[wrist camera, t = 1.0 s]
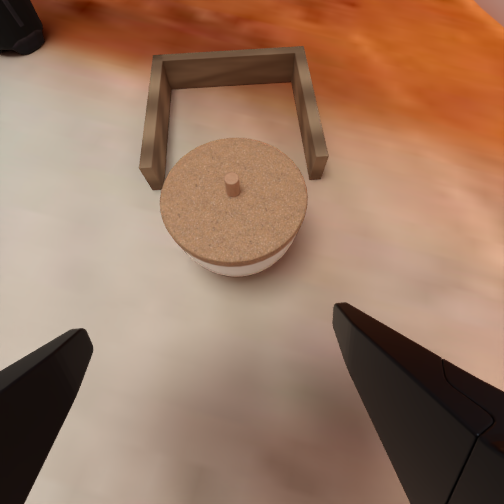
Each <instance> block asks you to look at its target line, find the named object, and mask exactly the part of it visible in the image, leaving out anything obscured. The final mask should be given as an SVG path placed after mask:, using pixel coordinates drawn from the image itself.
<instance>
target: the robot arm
mask: <svg viewBox="0 0 504 504" xmlns="http://www.w3.org/2000/svg"><path fill="white" fill-rule="evenodd" d="M333 328H334V331H335V334H336V337H337V340H338V343H339V346H340V349H341V352H342V355H343V358H344V361H345V364H346V366H347V369H348V371H349V373H350V376H351V378H352V380H353V382H354V384H355V386H356V388H357V391H358V393H359V395H360V397H361V399H362V401H363V403H364V406H365V408H366V410H367V412H368V414H369V416H370V418H371V420H372V423H373V425H374V427H375V429H376V431H377V433H378V435H379V437H380V440H381V442H382V444H383V446H384V448H385V450H386V452H387V455H388V457H389V459H390V461H391V463H392V465H393V467H394V469H395V472H396V474H397V476H398V478H399V480H400V482H401V484H402V487H403V489H404V491H405V493H406V495H407V497H408V499H409V501H410V504H504V392H503V391H502V390H500V389H498V388H496V387H494V386H492V385H490V384H488V383H486V382H484V381H482V380H480V379H479V378H477V377H475V376H473V375H471V374H470V373H468V372H466V371H464V370H462V369H461V368H459V367H457V366H455V365H454V364H452V363H450V362H448V361H447V360H445V359H442V358H441V357H440V356H438V355H436V354H434V353H433V352H431V351H429V350H428V349H426V348H424V347H422V346H421V345H419V344H417V343H415V342H414V341H412V340H410V339H409V338H407V337H405V336H403V335H402V334H400V333H398V332H396V331H395V330H393V329H391V328H390V327H388V326H386V325H384V324H383V323H381V322H379V321H377V320H376V319H374V318H372V317H371V316H369V315H367V314H365V313H364V312H362V311H360V310H359V309H357V308H355V307H353V306H352V305H350V304H348V303H346V302H343V303H336V304H334V308H333ZM92 353H93V345H92V342H91V340H90V338H89V336H88V333H87V331H86V330H85V329H83V328H79V329H71V330H69V331H67V332H66V333H64V334H62V335H60V336H59V337H57V338H55V339H54V340H52V341H50V342H49V343H47V344H45V345H44V346H42V347H40V348H39V349H37V350H35V351H34V352H32V353H30V354H28V355H27V356H25V357H23V358H22V359H20V360H18V361H17V362H15V363H13V364H12V365H10V366H8V367H7V368H5V369H3V370H1V371H0V504H24V503H25V501H26V499H27V497H28V495H29V493H30V491H31V489H32V487H33V485H34V482H35V480H36V478H37V476H38V474H39V472H40V470H41V468H42V466H43V464H44V462H45V460H46V458H47V456H48V454H49V452H50V450H51V448H52V445H53V443H54V441H55V439H56V437H57V435H58V433H59V431H60V429H61V427H62V425H63V423H64V421H65V419H66V417H67V415H68V413H69V411H70V408H71V406H72V404H73V402H74V400H75V398H76V396H77V393H78V391H79V388H80V386H81V383H82V380H83V378H84V375H85V372H86V370H87V367H88V364H89V362H90V359H91V356H92Z"/></svg>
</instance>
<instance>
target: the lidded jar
mask: <svg viewBox="0 0 504 504" xmlns="http://www.w3.org/2000/svg"><path fill="white" fill-rule="evenodd" d="M307 198H308V196H307V188H306V184H305V181H304V178H303V176H302V174H301V172H300V170H299V169H298V168H297V166H296V165H295V164H294V162H293V161H292V160H291V159H290V158H289V157H288V156H286V155H285V154H284V153H283V152H281V151H280V150H278V149H277V148H275V147H273V146H271V145H269V144H266V143H263V142H261V141H257V140H252V139H245V138H227V139H220V140H216V141H212V142H209V143H206V144H204V145H201V146H199V147H197V148H195V149H194V150H192V151H190V152H189V153H187V154H186V155H185V156H183V157H182V158H181V159H180V160H179V161H178V162H177V163H176V164H175V165H174V167H173V168H172V169H171V171H170V172H169V174H168V176H167V178H166V180H165V182H164V184H163V187H162V191H161V197H160V211H161V215H162V219H163V222H164V224H165V226H166V228H167V230H168V232H169V233H170V235H171V236H172V238H173V239H174V240H175V242H176V243H177V244H178V245H179V246H180V247H181V248H182V249H183V250H184V251H185V253H186V254H187V255H189V256H190V257H191V258H192V259H193V260H194V261H195V262H196V263H198V264H199V265H201V266H202V267H204V268H206V269H208V270H210V271H212V272H214V273H217V274H221V275H224V276H232V277H238V276H248V275H253V274H255V273H258V272H261V271H263V270H265V269H267V268H269V267H270V266H271V265H273V264H274V263H275V262H277V261H278V260H279V259H280V258H281V257H282V256H283V255H284V254H285V252H286V251H287V250H288V248H289V247H290V245H291V244H292V242H293V240H294V238H295V236H296V234H297V232H298V231H299V229H300V226H301V224H302V222H303V220H304V216H305V212H306V209H307Z"/></svg>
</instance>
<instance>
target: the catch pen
mask: <svg viewBox="0 0 504 504" xmlns="http://www.w3.org/2000/svg"><path fill="white" fill-rule="evenodd" d="M278 82H292V88H293V93H294V98H295V104H296V109H297V115H298V120H299V125H300V131H301V136H302V142H303V147H304V153H305V158H306V163H307V169H308V174H309V180H314V179H321V176H322V173H323V170H324V168H325V165H326V162H327V159H328V156H329V155H328V151H327V147H326V142H325V138H324V134H323V129H322V125H321V120H320V116H319V112H318V107H317V103H316V99H315V94H314V90H313V85H312V81H311V77H310V72H309V68H308V64H307V59H306V55H305V50H304V46H298V47H282V48H265V49H248V50H232V51H215V52H199V53H182V54H166V55H153V60H152V68H151V76H150V84H149V92H148V100H147V108H146V116H145V124H144V132H143V140H142V148H141V156H140V164H139V169H140V171H141V172H142V174H143V175H144V177H145V179H146V180H147V182H148V184H149V185H150V187H151V188H152V190H161V189H162V187H163V184H164V177H165V164H166V151H167V138H168V125H169V112H170V99H171V89H180V88H197V87H213V86H229V85H245V84H262V83H278Z"/></svg>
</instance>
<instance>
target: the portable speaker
mask: <svg viewBox="0 0 504 504" xmlns="http://www.w3.org/2000/svg"><path fill="white" fill-rule="evenodd" d="M42 30H43V25H42V23H41V21H40V19H39V17H38V15H37V13H36V11H35V9H34V7H33V5H32V3H31V1H30V0H0V53H2V50H15V51H17V52H18V53H20V54H30V53H31V52H33V51H35V50H36V49H38V48H39V47H40V46H41V45H42V44H43V43H44V42H45V41H44V38H43V34H42Z"/></svg>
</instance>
